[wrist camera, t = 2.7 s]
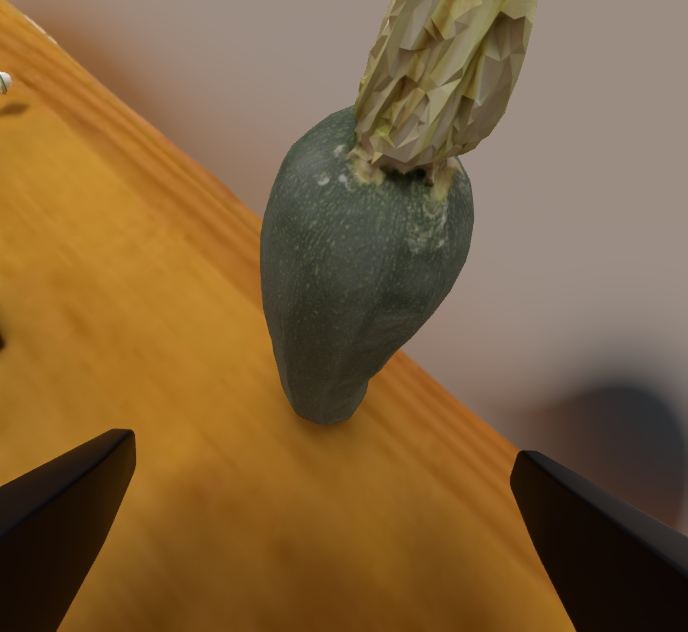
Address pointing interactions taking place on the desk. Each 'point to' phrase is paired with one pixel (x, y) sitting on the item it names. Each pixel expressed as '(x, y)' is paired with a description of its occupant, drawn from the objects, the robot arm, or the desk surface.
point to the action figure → (5, 82)
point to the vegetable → (384, 198)
